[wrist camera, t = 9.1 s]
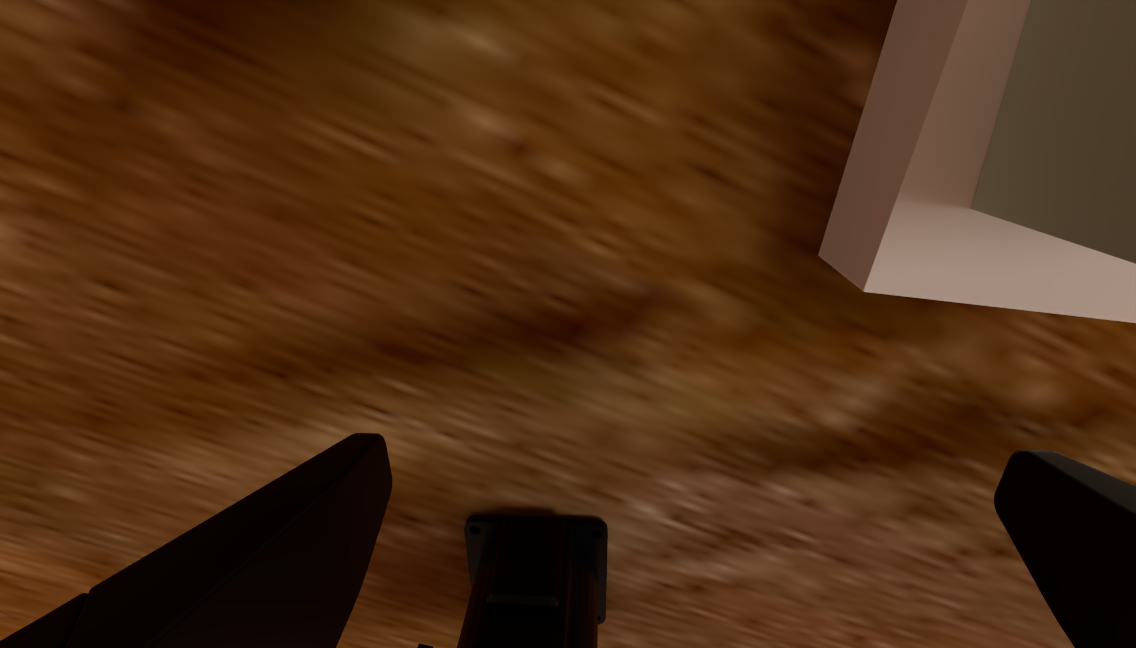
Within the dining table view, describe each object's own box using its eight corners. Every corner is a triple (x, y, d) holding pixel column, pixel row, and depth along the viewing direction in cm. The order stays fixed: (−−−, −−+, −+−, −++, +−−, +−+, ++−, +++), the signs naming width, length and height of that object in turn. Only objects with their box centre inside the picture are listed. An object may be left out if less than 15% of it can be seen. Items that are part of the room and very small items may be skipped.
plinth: (1093, 283, 19) (1211, 331, 15) (813, 251, 19) (863, 291, 15) (1330, -147, 14) (1593, -229, 10) (947, -186, 14) (1070, -282, 10)
